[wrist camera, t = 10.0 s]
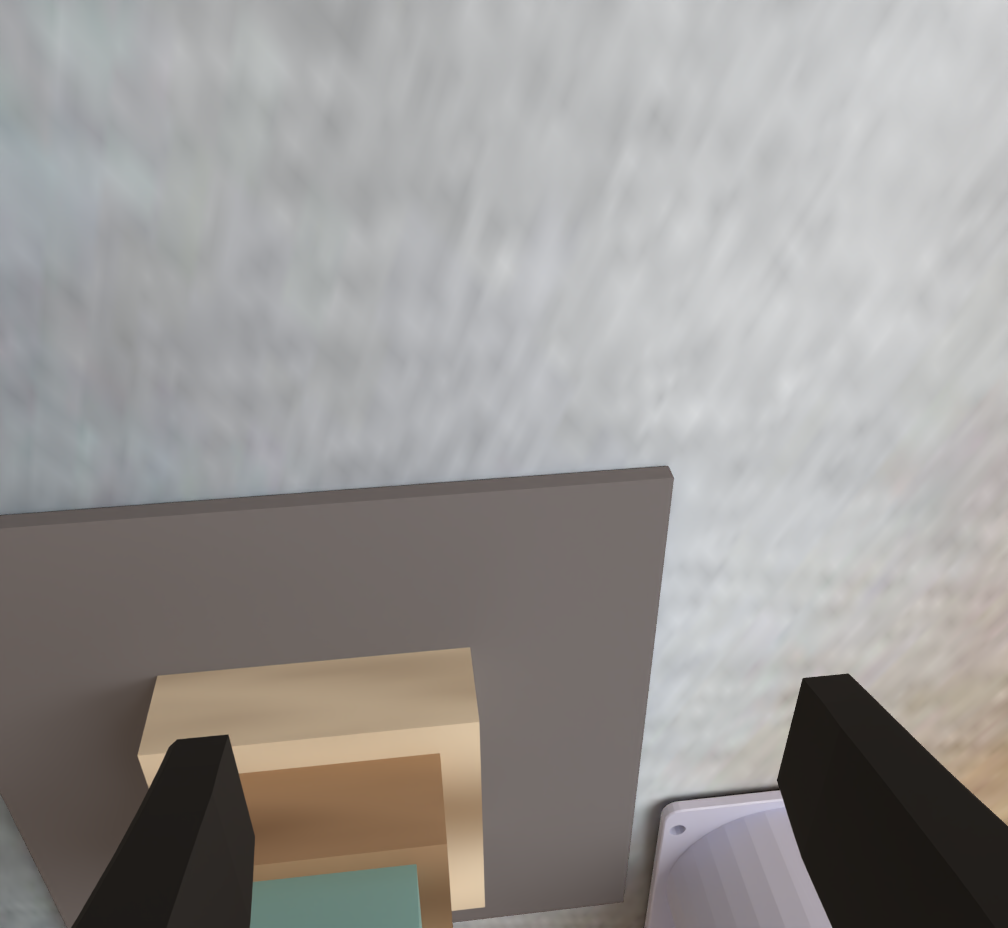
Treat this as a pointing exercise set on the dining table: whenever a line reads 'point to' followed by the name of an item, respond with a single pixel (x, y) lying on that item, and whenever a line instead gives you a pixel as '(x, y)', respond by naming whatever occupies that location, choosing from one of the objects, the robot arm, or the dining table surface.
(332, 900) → the teal block
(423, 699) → the birch slab
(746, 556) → the dining table surface
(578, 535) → the charcoal mat
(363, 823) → the walnut slab
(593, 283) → the dining table surface
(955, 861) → the robot arm
